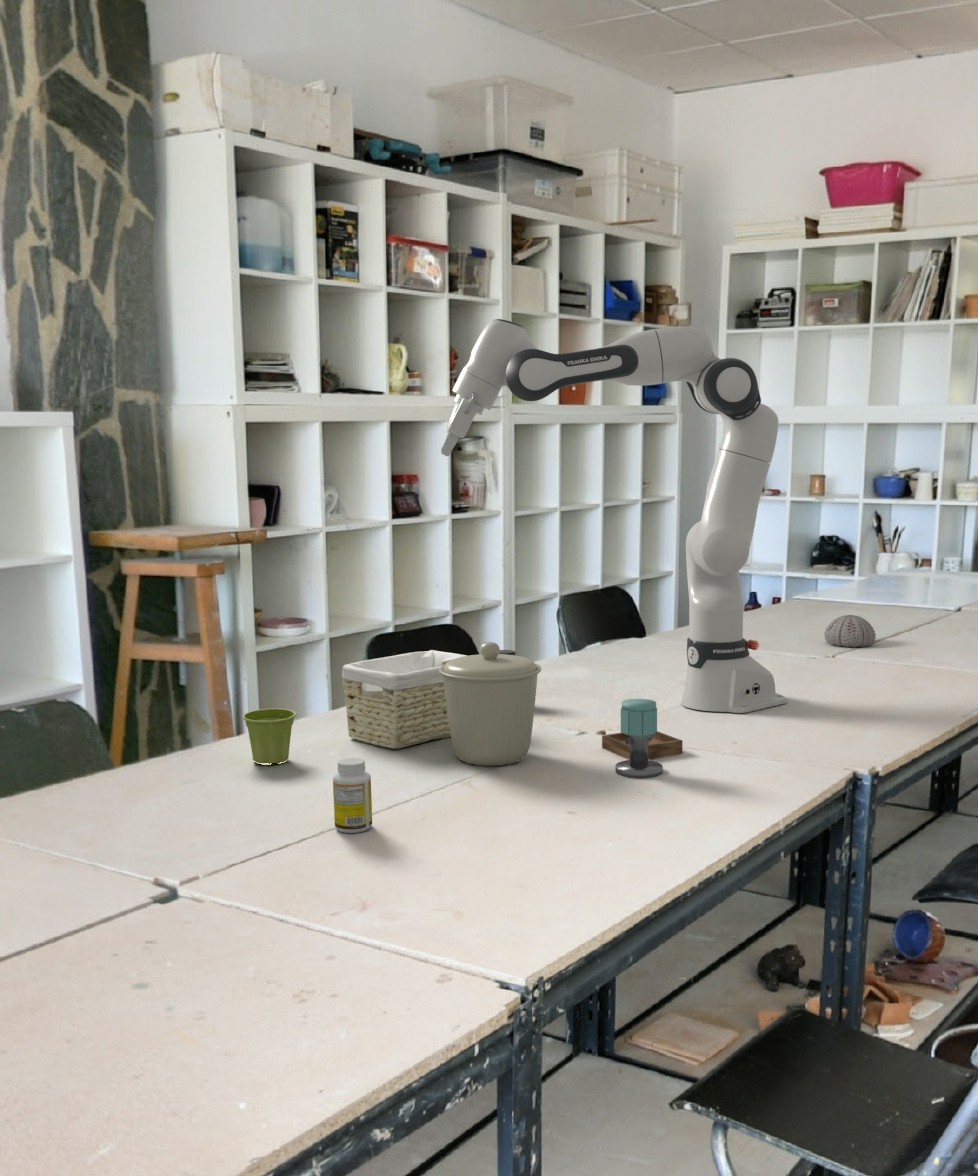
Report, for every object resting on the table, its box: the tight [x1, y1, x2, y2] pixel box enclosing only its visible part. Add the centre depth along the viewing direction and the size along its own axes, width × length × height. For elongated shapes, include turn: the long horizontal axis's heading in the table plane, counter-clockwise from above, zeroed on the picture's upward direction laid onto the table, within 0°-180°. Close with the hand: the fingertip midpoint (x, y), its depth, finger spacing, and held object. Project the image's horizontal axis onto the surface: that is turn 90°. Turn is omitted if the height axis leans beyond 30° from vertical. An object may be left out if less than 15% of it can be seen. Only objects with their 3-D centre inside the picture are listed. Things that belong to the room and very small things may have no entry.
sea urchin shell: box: [823, 614, 877, 648], centre depth 321 cm, size 13×14×8 cm
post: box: [614, 735, 664, 779], centre depth 203 cm, size 8×8×11 cm
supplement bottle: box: [332, 757, 373, 834], centre depth 176 cm, size 6×6×10 cm
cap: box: [620, 698, 658, 736], centre depth 203 cm, size 6×6×5 cm
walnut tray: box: [601, 730, 683, 760], centre depth 217 cm, size 10×10×2 cm
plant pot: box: [242, 708, 297, 764], centre depth 214 cm, size 9×9×9 cm
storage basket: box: [341, 649, 468, 750], centre depth 231 cm, size 24×16×15 cm
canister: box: [439, 641, 542, 767], centre depth 212 cm, size 18×18×21 cm
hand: (444, 454), depth 246 cm, fingers open, 8 cm apart
